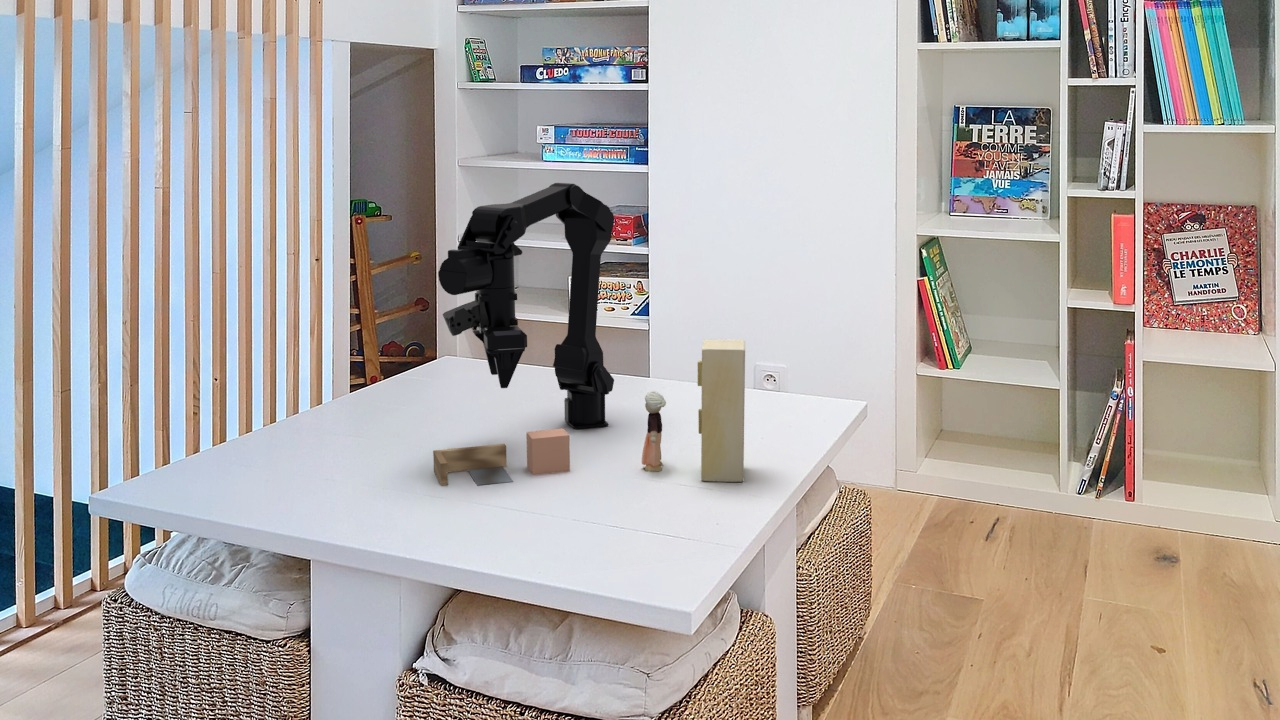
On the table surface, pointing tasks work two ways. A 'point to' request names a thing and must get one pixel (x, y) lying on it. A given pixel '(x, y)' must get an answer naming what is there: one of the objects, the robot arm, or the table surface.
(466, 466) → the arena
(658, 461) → the grandmother figurine
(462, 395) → the table surface
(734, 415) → the toy refrigerator
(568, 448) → the terracotta block
